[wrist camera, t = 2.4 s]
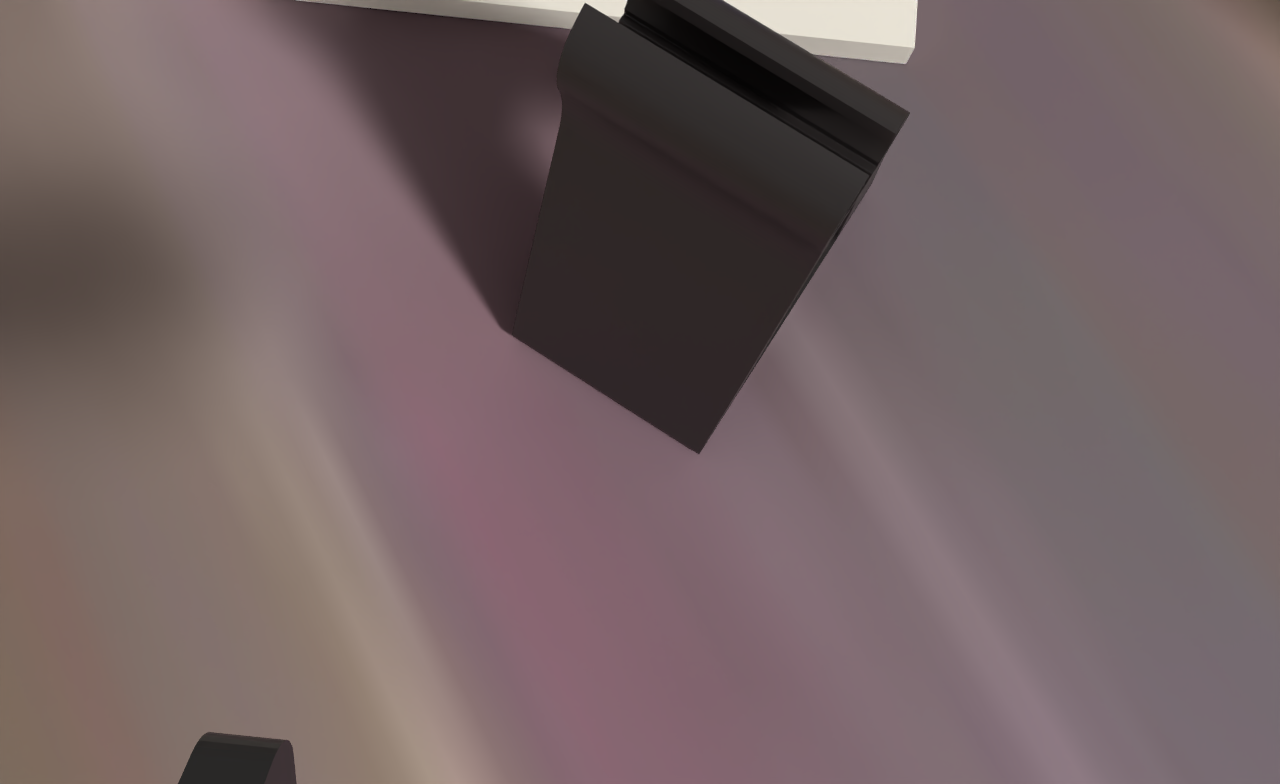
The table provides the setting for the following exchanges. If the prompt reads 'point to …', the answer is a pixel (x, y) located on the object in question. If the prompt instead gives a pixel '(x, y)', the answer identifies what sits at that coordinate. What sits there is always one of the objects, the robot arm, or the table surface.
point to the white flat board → (786, 3)
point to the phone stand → (690, 202)
